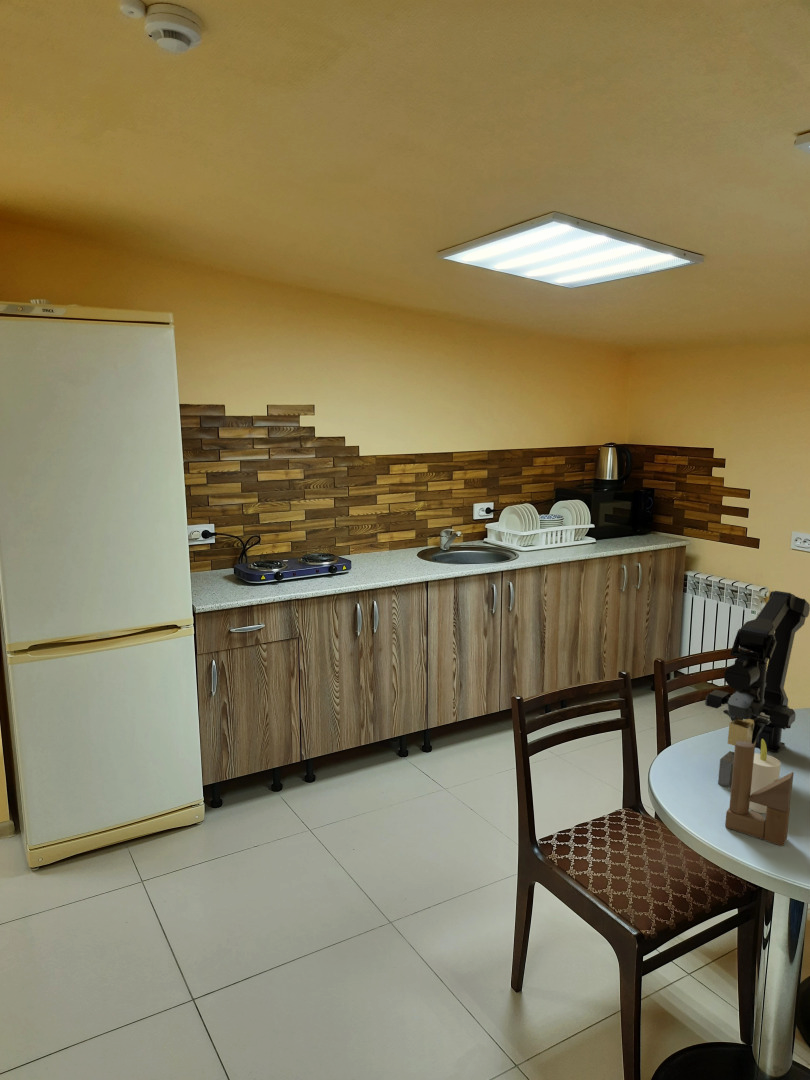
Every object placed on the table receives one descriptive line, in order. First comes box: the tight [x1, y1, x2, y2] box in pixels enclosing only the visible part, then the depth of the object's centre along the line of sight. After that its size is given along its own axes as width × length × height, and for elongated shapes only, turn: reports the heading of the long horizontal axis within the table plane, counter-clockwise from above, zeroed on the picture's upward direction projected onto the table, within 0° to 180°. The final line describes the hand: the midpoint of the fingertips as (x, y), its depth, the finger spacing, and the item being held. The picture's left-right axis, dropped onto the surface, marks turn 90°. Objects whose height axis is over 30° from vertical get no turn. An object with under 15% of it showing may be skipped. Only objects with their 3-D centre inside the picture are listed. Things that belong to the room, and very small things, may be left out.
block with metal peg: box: [717, 750, 735, 788], centre depth 166 cm, size 10×4×8 cm, turn 136°
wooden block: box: [724, 741, 794, 847], centre depth 142 cm, size 4×11×18 cm, turn 52°
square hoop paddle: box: [727, 718, 756, 747], centre depth 170 cm, size 10×4×8 cm, turn 136°
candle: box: [749, 739, 782, 815], centre depth 153 cm, size 6×6×15 cm
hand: (746, 741), depth 171 cm, fingers closed on square hoop paddle, 3 cm apart
